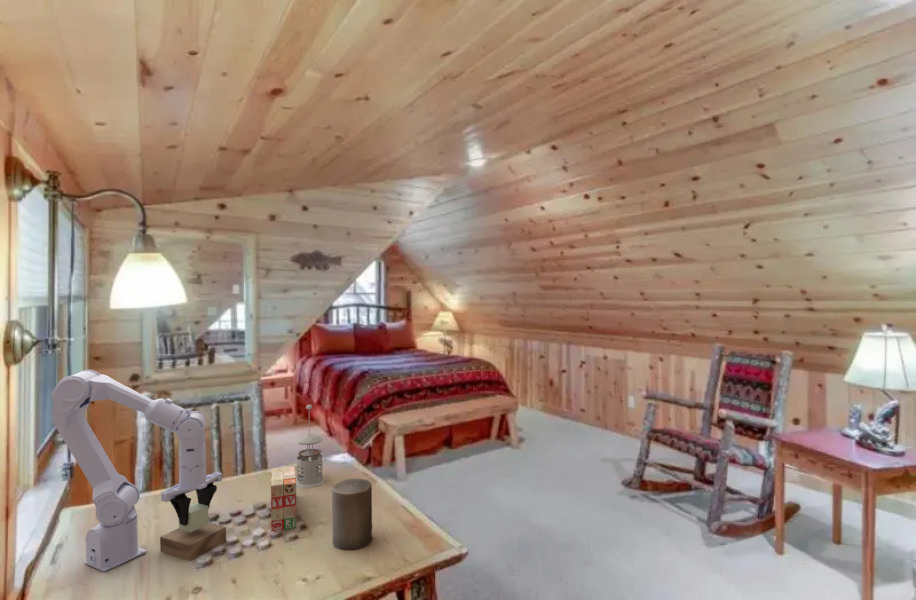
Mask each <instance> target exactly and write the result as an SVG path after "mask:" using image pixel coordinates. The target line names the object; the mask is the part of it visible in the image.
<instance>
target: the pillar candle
mask: <svg viewBox="0 0 916 600" xmlns="http://www.w3.org/2000/svg"><path fill="white" fill-rule="evenodd" d="M372 488H373V487H372V482H371V480H370V481H369V480H368V479H364V478H347V479H342V480H340V481H337V482H336V483H334V484H333V485H332V486H331V495H332V497H331V498H332V499H331V500H332V543H333V546H334V547H335V548H337V549H340V550H344V551H347V550H356V549H362V548H365V547H366V546H368V545H369V544H371V543H372V541H373V537H374V536H373V502H372V501H373V500H372V499H373V496H372V495H373V493H372Z"/></svg>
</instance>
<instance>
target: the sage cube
mask: <svg viewBox="0 0 916 600" xmlns="http://www.w3.org/2000/svg"><path fill="white" fill-rule="evenodd" d="M208 522H209V509H208V506H206V505H203V504H200V503H198V501H197V502H196V501H195V502H193V503H190V506H189V518H188V525H186V526H184V525H181V524H180V522H179V521H178V528H180V529H183V530H186V531H189V532H193V531H195V530H197V529H199V528H201V527H204V526H206V525H208Z"/></svg>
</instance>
